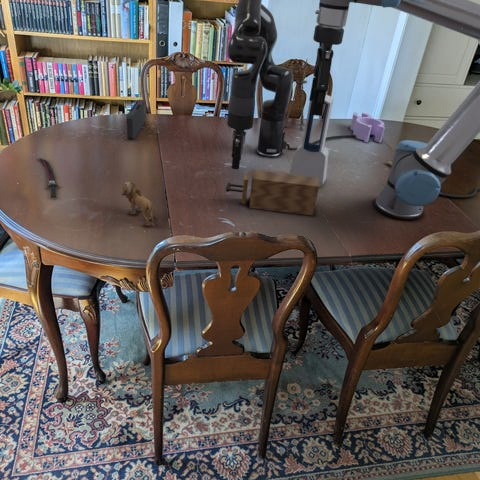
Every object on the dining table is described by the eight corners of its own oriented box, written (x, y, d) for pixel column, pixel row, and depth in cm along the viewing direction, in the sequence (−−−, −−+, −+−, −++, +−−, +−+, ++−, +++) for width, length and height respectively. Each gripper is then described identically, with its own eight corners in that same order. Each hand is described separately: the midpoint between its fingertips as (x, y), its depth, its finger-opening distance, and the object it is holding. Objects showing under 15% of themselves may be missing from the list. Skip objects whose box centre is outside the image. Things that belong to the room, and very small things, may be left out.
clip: (343, 126, 223) (346, 112, 219) (367, 127, 225) (371, 113, 221) (360, 142, 206) (364, 127, 202) (386, 142, 209) (390, 127, 205)
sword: (61, 197, 141) (61, 193, 140) (50, 198, 139) (50, 194, 139) (49, 160, 164) (48, 156, 163) (39, 160, 163) (39, 157, 162)
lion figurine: (118, 210, 138) (116, 182, 133) (132, 204, 141) (131, 177, 137) (151, 229, 130) (150, 201, 126) (165, 223, 134) (165, 195, 129)
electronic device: (325, 180, 169) (342, 97, 152) (321, 188, 163) (339, 103, 146) (292, 173, 172) (306, 91, 155) (287, 181, 165) (301, 96, 149)
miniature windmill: (301, 130, 212) (313, 61, 196) (283, 127, 213) (293, 58, 197) (303, 124, 220) (314, 57, 204) (285, 121, 221) (295, 54, 205)
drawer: (224, 201, 147) (226, 177, 142) (226, 194, 151) (228, 170, 147) (301, 210, 146) (306, 186, 142) (301, 203, 151) (305, 179, 146)
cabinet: (249, 207, 147) (252, 178, 141) (250, 198, 152) (253, 170, 147) (313, 215, 146) (318, 186, 141) (312, 206, 152) (317, 177, 146)
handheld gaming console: (138, 121, 203) (138, 98, 197) (145, 121, 203) (144, 98, 198) (126, 140, 184) (125, 115, 178) (133, 140, 184) (132, 115, 178)
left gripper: (230, 101, 140) (226, 154, 149) (225, 116, 128) (221, 172, 137) (255, 104, 140) (249, 156, 149) (252, 119, 127) (246, 175, 136)
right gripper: (313, 17, 131) (300, 94, 142) (318, 32, 110) (303, 120, 121) (339, 21, 130) (325, 96, 142) (350, 35, 109) (332, 123, 121)
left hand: (236, 164), depth 143 cm, fingers open, 6 cm apart
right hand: (315, 107), depth 131 cm, fingers open, 13 cm apart
